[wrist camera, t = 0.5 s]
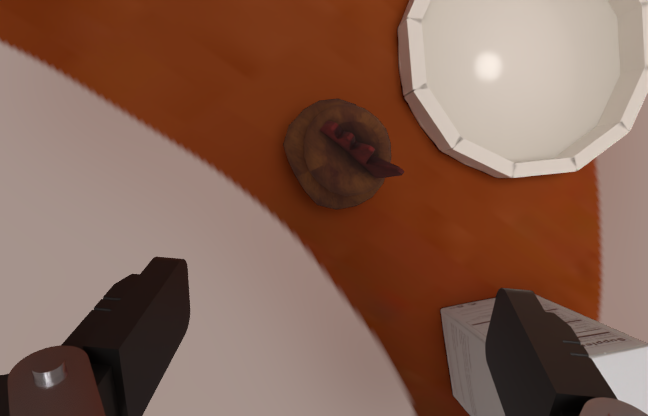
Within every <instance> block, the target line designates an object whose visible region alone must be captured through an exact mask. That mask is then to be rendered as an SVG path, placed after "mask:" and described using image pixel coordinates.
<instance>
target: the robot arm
mask: <svg viewBox="0 0 648 416" xmlns="http://www.w3.org/2000/svg"><path fill="white" fill-rule="evenodd" d="M189 318H190V300H189V285H188V269H187V263H186V261H185V260H184V259H175V258H164V257H155V258H153V259H152V260H151V262H150V263H149V264H148V266H147V267H146V268H145V269H144V270H143V271H142V273H141V274H140V275H139V274H131V275H129V276H128V277H126V278H124V279H122V280H121V281H119V282H118V283H116V284H114V285H113V286H112V288H111V289H110V290H109V291H108V292H107V293H106V295H105V296H104V298H103V299H101V300H100V302H99V303H98V304H97V305H96V306H95V308H94V310H92V311H91V312H90V313H89V314H88V315H87V317H85V319H84V320H83V321H82V322H81V323H80V325H79V326H78V327H77V328H76V329H75V330H74V331H73V332H72V334H71V335H70V336H69V337H68V338H67V339H66V340H65V342H64V343H63V344H62V345H61V346H55V347H49V348H45V349H42V350H39V351H37V352H34V353H32V354H30V355H29V356H27V357H25V358H24V359H22V360H21V361H20V362H19V363H17V364H16V365H15V366H14V368H13V369H12V370H11V372H10V373H9V374H6V375H0V416H142V415H143V413H144V411H145V409H146V407H147V405H148V403H149V402H150V400H151V398H152V396H153V394H154V392H155V390H156V388H157V386H158V385H159V383H160V381H161V379H162V377H163V375H164V373H165V371H166V369H167V368H168V366H169V364H170V362H171V360H172V358H173V356H174V354H175V352H176V351H177V349H178V347H179V345H180V343H181V341H182V339H183V337H184V335H185V333H186V331H187V328H188V324H189ZM485 355H486V361H487V365H488V368H489V370H490V373H491V376H492V379H493V382H494V385H495V388H496V390H497V393H498V396H499V399H500V402H501V405H502V408H503V410H504V413H505V416H648V415H647V414H646V413H644V412H643V411H641V410H640V409H638V408H636V407H634V406H632V405H630V404H628V403H626V402H623V401H620V400H618V399H617V397H616V396H615V394H614V393H613V391H612V389H611V388H610V386H609V385H608V383H607V382H606V380H605V379H604V377H603V376H602V374H601V372H600V371H599V369H598V368H597V366H596V365H595V363H594V362H593V360H592V359H591V358H589V354H588V352H587V351H586V349H585V348H584V346H583V345H581V342H580V340H579V338H578V337H577V335H576V334H575V332H574V331H573V329H572V328H571V326H570V325H568V324H567V323H566V322H565V321H563V320H562V319H561V318H560V317H558V316H557V315H556V314H555V313H553V312H545V310H544V309H543V307H542V305H541V304H540V302H539V300H538V299H537V297H536V295H535V294H534V292H533V291H530V290H518V289H507V288H501V289H499V291H498V292H497V295H496V299H495V303H494V307H493V311H492V315H491V319H490V324H489V328H488V332H487V336H486V342H485Z"/></svg>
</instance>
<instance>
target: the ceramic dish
mask: <svg viewBox="0 0 648 416" xmlns="http://www.w3.org/2000/svg"><path fill="white" fill-rule="evenodd" d="M398 28H399V29H398V40H399V43H398V66H399V73H400V79H401V84H402V87H403V96H405V97H404V98H405V100H406V101H407V103H408V104H409V107H410V109H411V111H412V113H413V115H414V117H415V118H416V120H417V122H418V123H419V125H420V126H421V128H422V129H423V130H424V132H425V133H426V134H427V135H428V137H429V138H430V139H431V140H432V141H433V142H434V143H435V144H436V146H437V147H438V149H439V150H441V152H443V153H445V154H447V155H449V156H451V157H452V158H454V159H456V160H458V161H459V162H461V163H463V164H465V165H467V166H470V167H472V168H475V169H477V170H480V171H483V172H485V173H487V174H489V175H491V176H493V177H496V178H517V177H527V176H536V175H546V174H555V173H565V172H574V171H578V170H579V169H581V168H582V167H583V166H585V165H586V164H587V163H589V162H590V161H591V160H593V159H594V158H595V157H597V156H598V155H599V154H601V153H602V152H603V151H605V150H606V149H607V148H609V147H610V146H611V145H613V144H614V143H615V142H617V141H618V140H619V139H621V138H622V137H623V136H625V135H626V134H627V133H629V131H630V130H631V128H632V126H633V123H634V121H635V119H636V117H637V115H638V113H639V110H640V108H641V106H642V104H643V102H644V100H645V97H646V95H647V93H648V0H409V2H408V5H407V8H406V10H405V13H404V15H403V18H402V20H401V22H400V24H399V27H398Z"/></svg>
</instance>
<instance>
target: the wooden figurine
mask: <svg viewBox="0 0 648 416" xmlns="http://www.w3.org/2000/svg"><path fill="white" fill-rule="evenodd" d="M283 146H284V149H285V152H286V155H287V159H288V162H289V164H290V166H291V168H292V170H293V172H294V174H295V176H296V178H297V179H298V181H299V183H300V184H301V186H302V187H303V189H304V190H305V192H306V193H307V194H308V195H309V196H310V197H311V199H312V200H313V201H314V202H315V203H316V204H317V205H320V206H324V207H328V208H332V209H342V208H347V207H353V206H357V205H359V204H361V203H363V202H364V201H366V200H368V199H370V198H371V197H373V195H374V194H375V193H376V192H377V190H378V189H379V188H380V187H381V185H382V184H383V182H384V179H385V177H392V176H399V175H402V174H403V173H404V171H403V170H402V169H401V168H399V167H398V166H395V165H393V164H391V163H390V161H391V143H390V140H389V136H388V133H387V130H386V128H385V127H384V126H383V125H382V123H381V122H380V121H379V120H378V118H377V117H375V116H374V115H373V114H371V113H370V112H369V111H367V110H366V109H364V108H361V107H358V106H356V105H355V104H353V103H350V102H347V101H344V100H341V99H330V100H321V101H318V102H316V103H314V104H313V105H311V106H309V107H307V108H306V109H304V110H303V111H302V112H301V113H300V114H299V115H298V117H297V118H296V119H295V120H294V121H293V122H292V123H291V124H290V125H289V127H288V131H287V134H286V137H285V140H284V143H283Z"/></svg>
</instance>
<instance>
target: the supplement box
mask: <svg viewBox="0 0 648 416" xmlns="http://www.w3.org/2000/svg"><path fill="white" fill-rule="evenodd" d="M536 297H537V299H538V300H539V302H540V304H541V305H542V307H543V309H544V310H545V312H553V313H555V314H556V315H557V316H558V317H560V318H561V319H562V320H563V321H565V322H566V323H567V324H568V325H570V326H571V328H572V329H573V331H574V332H575V334H576V335H577V337H578V338H579V340H580V342H581V345H583V346H584V348H585V349H586V351H587V352H588V354H589V358H591V359H592V360H593V362H594V363H595V365H596V366H597V368H598V369H599V371H600V372H601V374H602V376H603V377H604V379H605V380H606V382H607V383H608V385H609V386H610V388H611V389H612V391H613V393H614V394H615V396H616V397H617V399H618V400H620V401H623V402H626V403H628V404H630V405H632V406H634V407H636V408H638V409H640V410H641V411H643V412H644V413H646V414H647V415H648V343H646V342H643V341H641V340H639V339H636V338H634V337H632V336H629V335H627V334H625V333H623V332H620V331H618V330H616V329H613V328H611V327H609V326H607V325H604V324H602V323H600V322H597V321H595V320H593V319H590V318H588V317H585V316H583V315H581V314H579V313H576V312H574V311H572V310H570V309H567V308H565V307H562V306H560V305H558V304H556V303H553V302H551V301H549V300H547V299H544V298H542V297H540V296H537V295H536ZM495 299H496V298H492V299H486V300H481V301H476V302H470V303H465V304H460V305H456V306H450V307H446V308H442V309H441V318H442V325H443V332H444V339H445V346H446V352H447V359H448V365H449V372H450V378H451V385H452V391H453V396H454V397H455V398H456V399H457V401H458V402H459V403H460V404H461V405H462V407H463V408H464V409H465V410H466V411H467V412H468V414H469V415H470V416H505V413H504V410H503V408H502V405H501V402H500V399H499V396H498V393H497V390H496V388H495V385H494V382H493V379H492V376H491V373H490V370H489V368H488V365H487V361H486V355H485V342H486V336H487V332H488V328H489V324H490V319H491V315H492V311H493V307H494V303H495Z"/></svg>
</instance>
